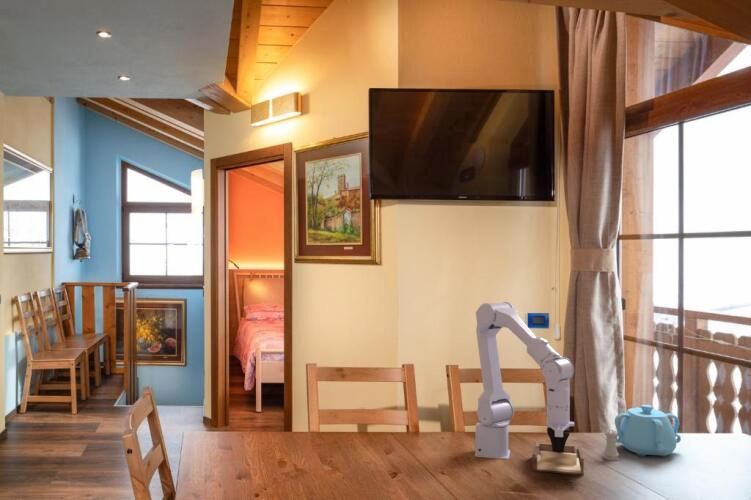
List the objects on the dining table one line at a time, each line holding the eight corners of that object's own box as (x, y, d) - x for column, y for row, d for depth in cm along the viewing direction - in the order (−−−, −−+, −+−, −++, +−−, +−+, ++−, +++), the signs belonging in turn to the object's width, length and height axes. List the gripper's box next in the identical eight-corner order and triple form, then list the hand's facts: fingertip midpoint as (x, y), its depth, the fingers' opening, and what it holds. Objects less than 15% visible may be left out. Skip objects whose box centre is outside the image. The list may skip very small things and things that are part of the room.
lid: (537, 469, 157) (537, 457, 157) (537, 456, 167) (537, 445, 167) (580, 473, 154) (580, 460, 154) (578, 460, 164) (578, 448, 164)
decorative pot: (688, 453, 181) (688, 407, 181) (659, 464, 172) (659, 415, 172) (636, 440, 194) (636, 396, 194) (606, 449, 185) (606, 403, 185)
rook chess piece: (620, 462, 174) (620, 433, 174) (604, 461, 174) (604, 432, 174) (617, 457, 178) (618, 429, 178) (601, 456, 179) (601, 428, 179)
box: (532, 471, 166) (532, 454, 166) (532, 458, 176) (532, 442, 176) (583, 476, 162) (583, 458, 162) (580, 462, 173) (580, 445, 173)
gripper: (575, 412, 154) (575, 467, 154) (572, 399, 168) (572, 449, 168) (546, 411, 156) (546, 465, 156) (545, 397, 170) (545, 447, 170)
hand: (558, 456), depth 162 cm, fingers closed
